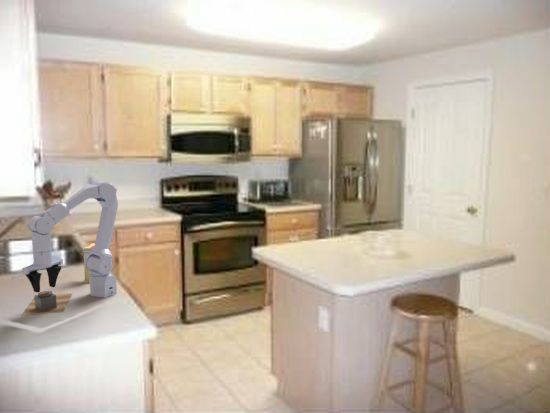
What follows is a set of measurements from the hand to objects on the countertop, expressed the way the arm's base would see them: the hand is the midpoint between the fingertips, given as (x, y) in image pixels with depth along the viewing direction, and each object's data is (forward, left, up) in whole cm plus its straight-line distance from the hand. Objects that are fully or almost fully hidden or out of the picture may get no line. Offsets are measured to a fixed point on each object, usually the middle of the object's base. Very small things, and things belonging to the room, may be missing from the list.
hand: (44, 289), depth 163 cm
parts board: (+3, -4, -8) cm, 9 cm away
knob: (0, 0, -7) cm, 7 cm away
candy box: (+13, -34, -8) cm, 37 cm away
